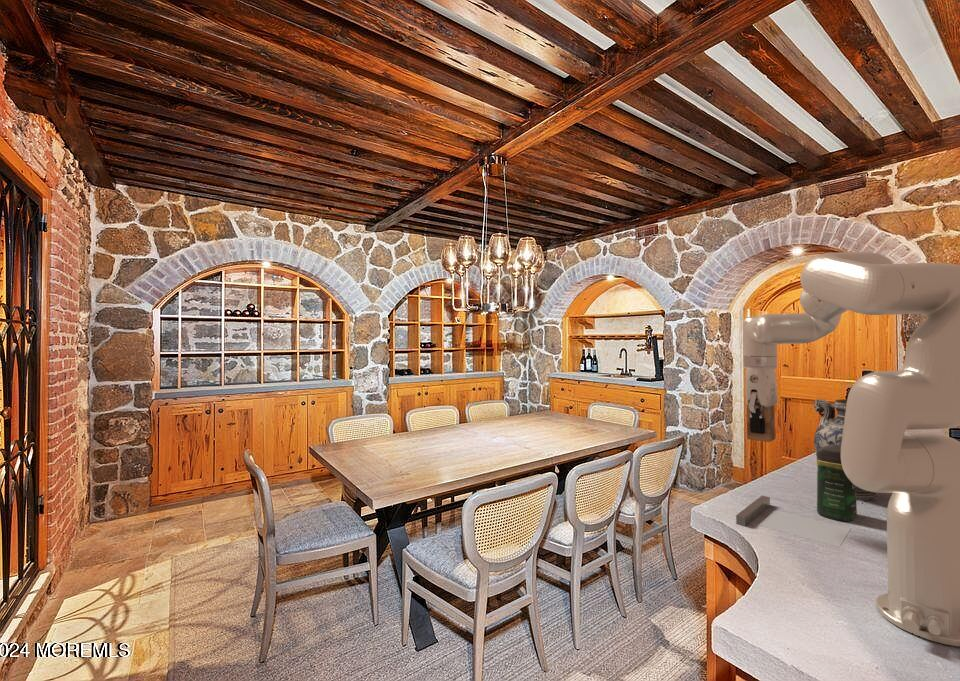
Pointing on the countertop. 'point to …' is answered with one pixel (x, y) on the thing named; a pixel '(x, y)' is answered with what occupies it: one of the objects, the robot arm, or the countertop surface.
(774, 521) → the mat
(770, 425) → the walnut block
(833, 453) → the coffee jar
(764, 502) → the steel bar
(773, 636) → the countertop surface
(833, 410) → the decorative vase
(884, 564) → the countertop surface
